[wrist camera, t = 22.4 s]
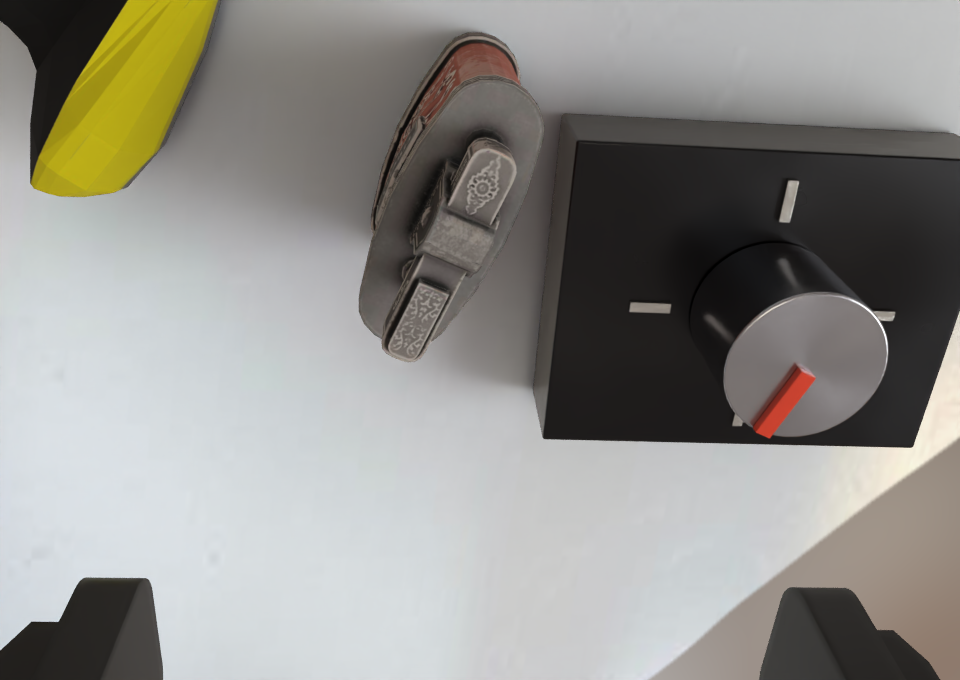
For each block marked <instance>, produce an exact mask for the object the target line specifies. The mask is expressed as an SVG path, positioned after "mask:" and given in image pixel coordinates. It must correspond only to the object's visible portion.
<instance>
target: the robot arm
mask: <svg viewBox="0 0 960 680" xmlns="http://www.w3.org/2000/svg"><path fill="white" fill-rule="evenodd" d="M0 680H163V665H162V657H161V650H160V643H159V635H158V628H157V621H156V614H155V606H154V599H153V592H152V587H151V584H150V581H149V580H148V579H146V578H83V579H82V580H81V581H80V582H79V583H78V585H77V586H76V588H75V590H74V592H73V594H72V596H71V598H70V600H69V602H68V604H67V606H66V609H65V611H64V613H63V615H62V617H61V619H60V621H59V622H31V623H30V624H29V625H28V626H27V627H25V628H24V629H23V630H22V631H21V632H20V633H19V634H18V635H17V636H16V637H15V638H13V639H12V640H11V641H10V642H9V643H8V644H7V645H6V646H5V647H4V648H3V649H2V650H0ZM759 680H940V679H939V677H938V676H937V674H936V672H935V671H934V669H933V668H932V666H931V665H930V663H929V662H928V661H927V660H926V659H925V658H924V657H923V656H921V655H920V654H919V653H918V652H917V651H916V650H915V649H914V648H912V647H911V646H910V645H909V644H908V643H907V642H906V641H905V640H903V639H902V638H901V637H900V636H899V635H898V634H897V633H895V632H894V631H893V630H877V629H876V628H875V626H874V624H873V623H872V621H871V619H870V618H869V616H868V614H867V613H866V611H865V609H864V607H863V606H862V604H861V602H860V601H859V599H858V598H857V596H856V595H855V594H854V593H853V592H852V591H851V590H849V589H846V588H795V587H792V588H788V589H787V590H786V591H785V592H784V594H783V596H782V598H781V601H780V605H779V608H778V612H777V615H776V619H775V622H774V626H773V629H772V633H771V636H770V639H769V643H768V646H767V650H766V653H765V657H764V660H763V664H762V667H761V671H760V678H759Z"/></svg>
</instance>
